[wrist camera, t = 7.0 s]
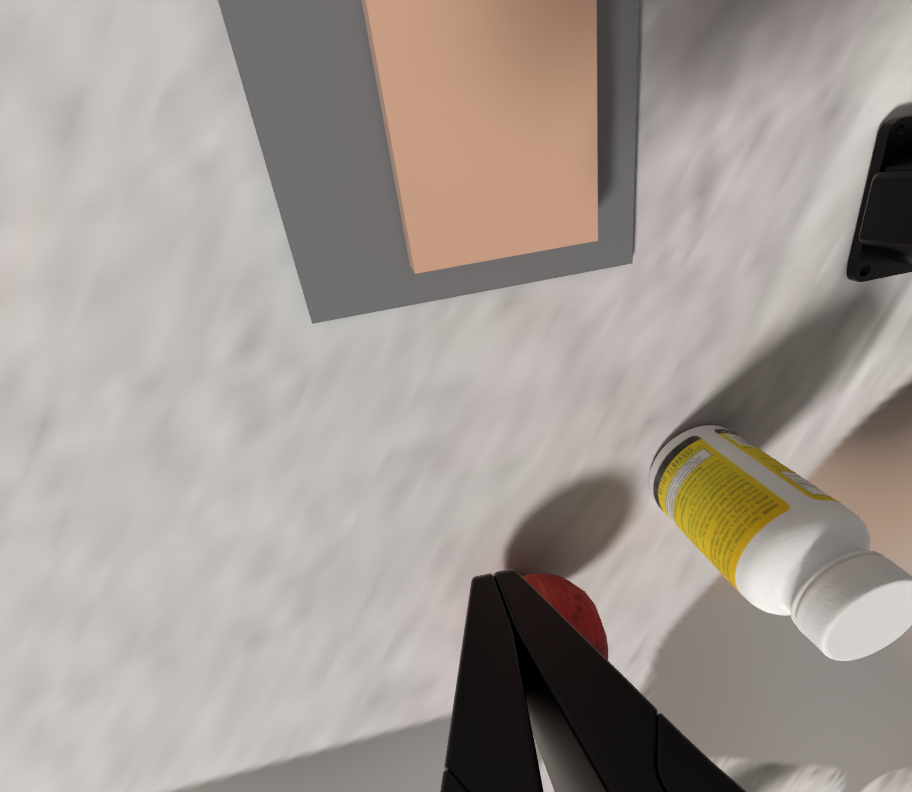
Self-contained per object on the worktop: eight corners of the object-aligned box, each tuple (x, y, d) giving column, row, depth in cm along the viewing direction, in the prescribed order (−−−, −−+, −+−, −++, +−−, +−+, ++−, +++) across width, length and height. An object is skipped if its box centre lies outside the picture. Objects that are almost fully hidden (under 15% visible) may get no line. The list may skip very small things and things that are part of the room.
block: (359, -9, 14) (566, -33, 14) (409, 264, 17) (573, 235, 18) (358, -40, 12) (596, -65, 12) (414, 274, 15) (597, 240, 16)
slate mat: (635, -98, 14) (642, -106, 14) (627, 261, 19) (632, 263, 19) (204, -56, 13) (199, -63, 12) (313, 320, 18) (312, 323, 17)
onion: (553, 522, 24) (633, 663, 17) (580, 590, 27) (659, 736, 20) (454, 568, 24) (493, 727, 17) (490, 630, 27) (537, 791, 20)
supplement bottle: (642, 517, 25) (791, 691, 17) (646, 434, 23) (822, 586, 14) (731, 495, 26) (920, 652, 17) (744, 411, 24) (970, 544, 15)
